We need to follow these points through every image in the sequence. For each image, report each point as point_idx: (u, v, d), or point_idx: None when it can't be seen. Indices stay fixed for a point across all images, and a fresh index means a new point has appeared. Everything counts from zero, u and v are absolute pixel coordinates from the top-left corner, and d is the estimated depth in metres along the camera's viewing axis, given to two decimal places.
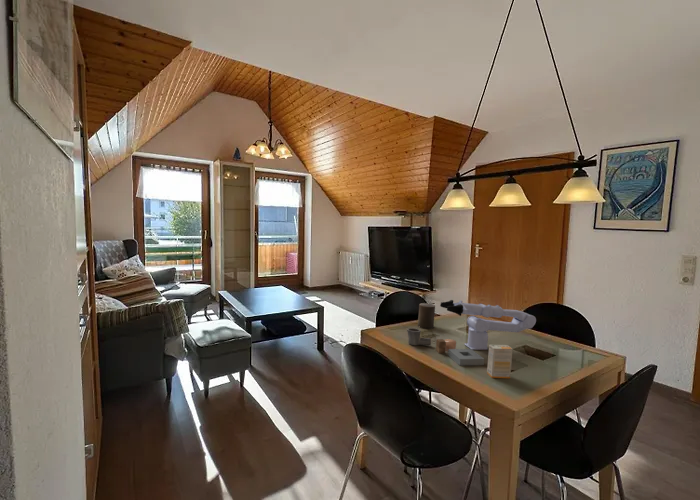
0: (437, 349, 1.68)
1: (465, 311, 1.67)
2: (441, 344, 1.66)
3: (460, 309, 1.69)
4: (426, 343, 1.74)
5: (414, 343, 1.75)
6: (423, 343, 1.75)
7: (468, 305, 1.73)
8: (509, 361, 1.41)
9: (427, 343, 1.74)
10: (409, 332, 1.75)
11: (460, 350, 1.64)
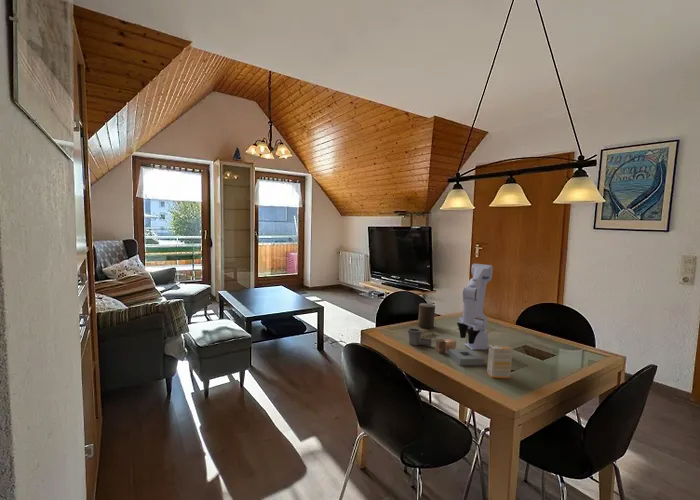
0: (437, 349, 1.68)
1: (476, 328, 1.51)
2: (441, 344, 1.66)
3: None
4: (427, 343, 1.74)
5: (414, 343, 1.75)
6: (423, 343, 1.74)
7: (466, 315, 1.56)
8: (509, 361, 1.41)
9: (428, 343, 1.74)
10: (410, 332, 1.75)
11: (460, 350, 1.64)
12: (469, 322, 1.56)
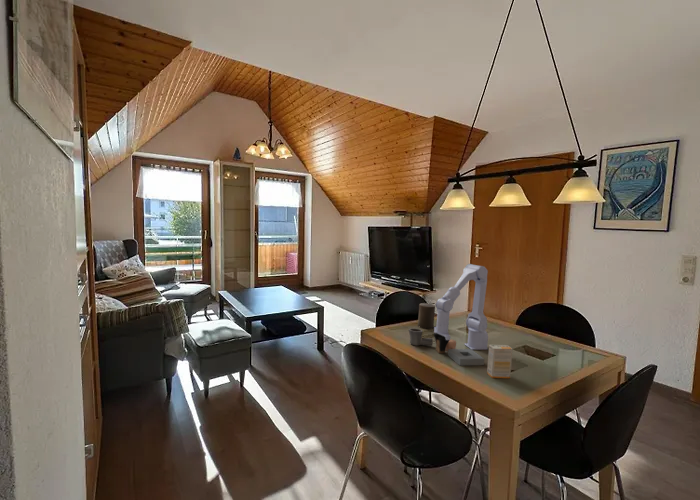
0: (437, 349, 1.68)
1: (448, 338, 1.60)
2: None
3: None
4: (428, 343, 1.74)
5: (416, 343, 1.74)
6: (425, 343, 1.74)
7: (439, 326, 1.65)
8: (509, 361, 1.41)
9: (429, 343, 1.74)
10: (411, 332, 1.75)
11: (460, 350, 1.64)
12: (442, 332, 1.65)
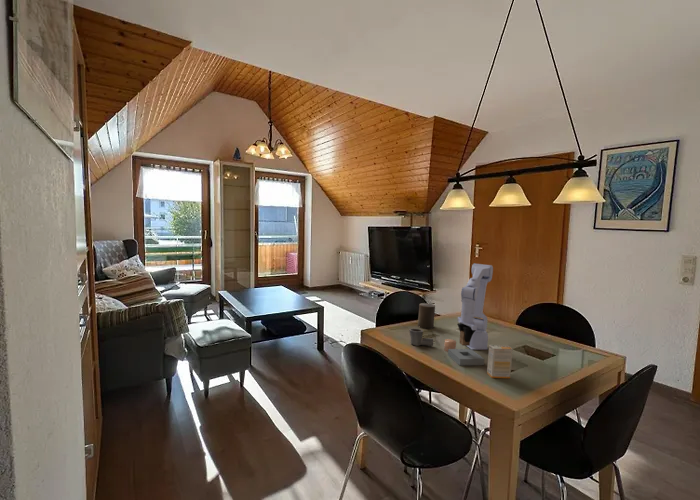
0: (461, 341, 1.59)
1: (474, 328, 1.52)
2: None
3: None
4: (428, 343, 1.74)
5: (416, 343, 1.74)
6: (425, 343, 1.74)
7: (465, 315, 1.56)
8: (509, 361, 1.41)
9: (429, 343, 1.74)
10: (411, 332, 1.75)
11: (460, 350, 1.64)
12: (467, 322, 1.56)
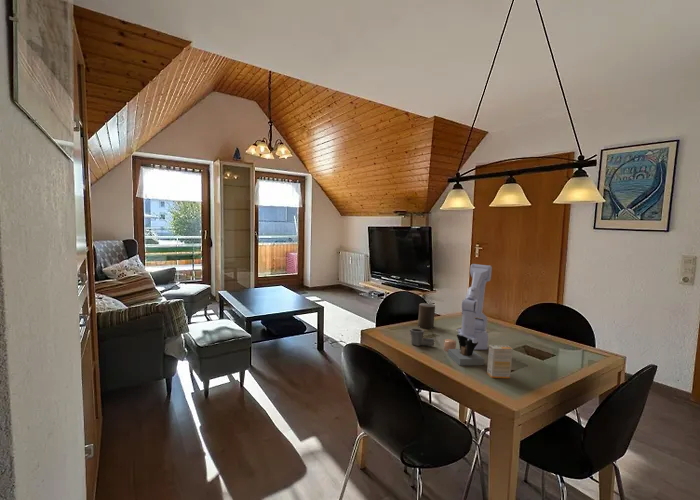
0: None
1: (475, 341, 1.52)
2: (466, 351, 1.58)
3: None
4: (429, 343, 1.74)
5: (417, 343, 1.74)
6: (426, 343, 1.74)
7: (465, 328, 1.56)
8: (509, 361, 1.41)
9: (430, 343, 1.74)
10: (412, 332, 1.75)
11: (460, 350, 1.64)
12: (468, 334, 1.56)
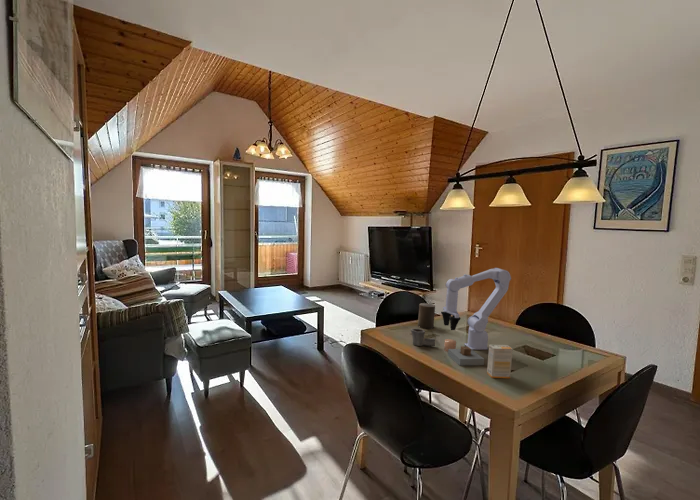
0: None
1: (457, 316, 1.69)
2: (466, 351, 1.58)
3: None
4: (430, 344, 1.74)
5: (418, 343, 1.74)
6: (427, 343, 1.74)
7: (449, 305, 1.74)
8: (509, 361, 1.41)
9: (431, 344, 1.74)
10: (413, 332, 1.75)
11: (460, 350, 1.64)
12: (451, 310, 1.73)
